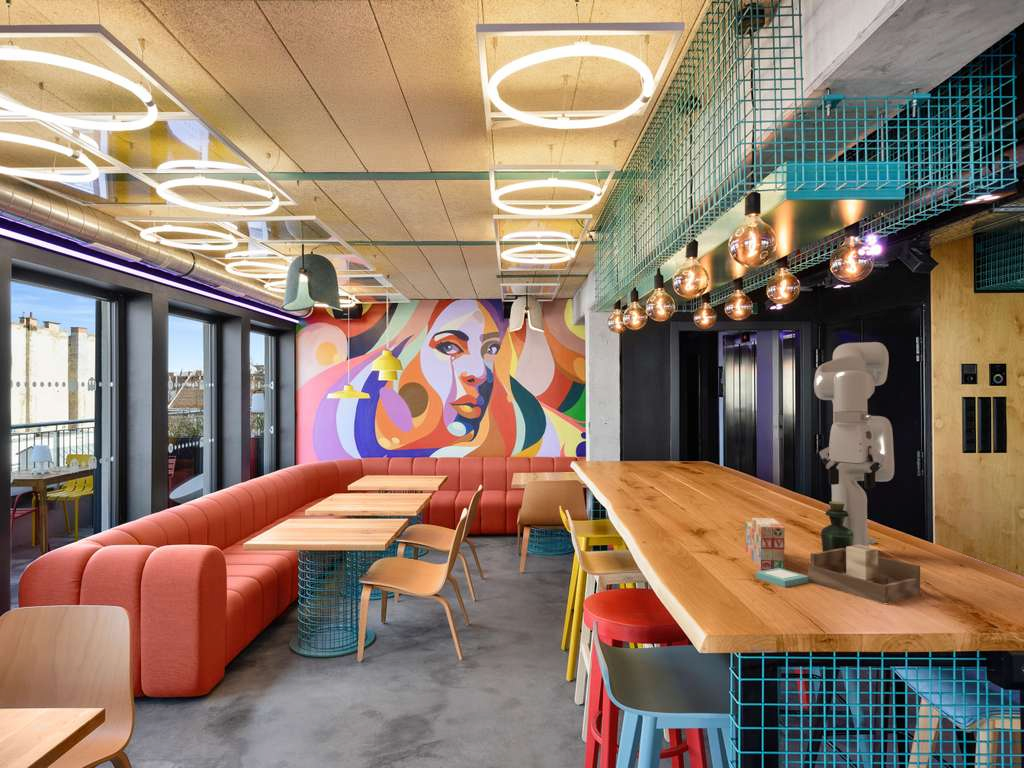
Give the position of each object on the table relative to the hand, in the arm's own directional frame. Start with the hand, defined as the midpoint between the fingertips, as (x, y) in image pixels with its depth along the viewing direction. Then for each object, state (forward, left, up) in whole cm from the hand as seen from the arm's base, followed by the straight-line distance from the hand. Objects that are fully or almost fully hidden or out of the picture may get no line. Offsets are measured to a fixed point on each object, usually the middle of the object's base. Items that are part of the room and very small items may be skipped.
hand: (851, 486), depth 160 cm
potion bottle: (-12, -12, -25) cm, 30 cm away
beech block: (0, +3, -22) cm, 22 cm away
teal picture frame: (+12, -11, -25) cm, 30 cm away
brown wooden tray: (0, +3, -25) cm, 25 cm away
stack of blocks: (+1, -27, -25) cm, 37 cm away
